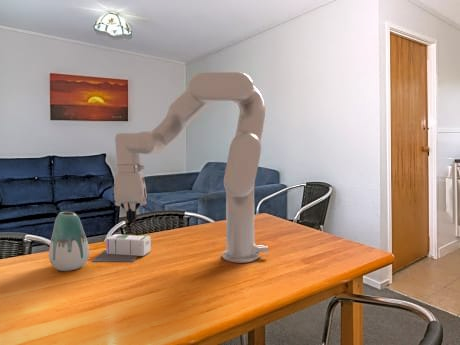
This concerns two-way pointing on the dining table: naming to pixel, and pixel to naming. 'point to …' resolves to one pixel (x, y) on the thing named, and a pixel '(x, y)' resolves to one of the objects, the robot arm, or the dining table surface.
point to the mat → (114, 258)
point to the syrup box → (128, 244)
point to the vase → (68, 243)
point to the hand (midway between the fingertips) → (131, 221)
